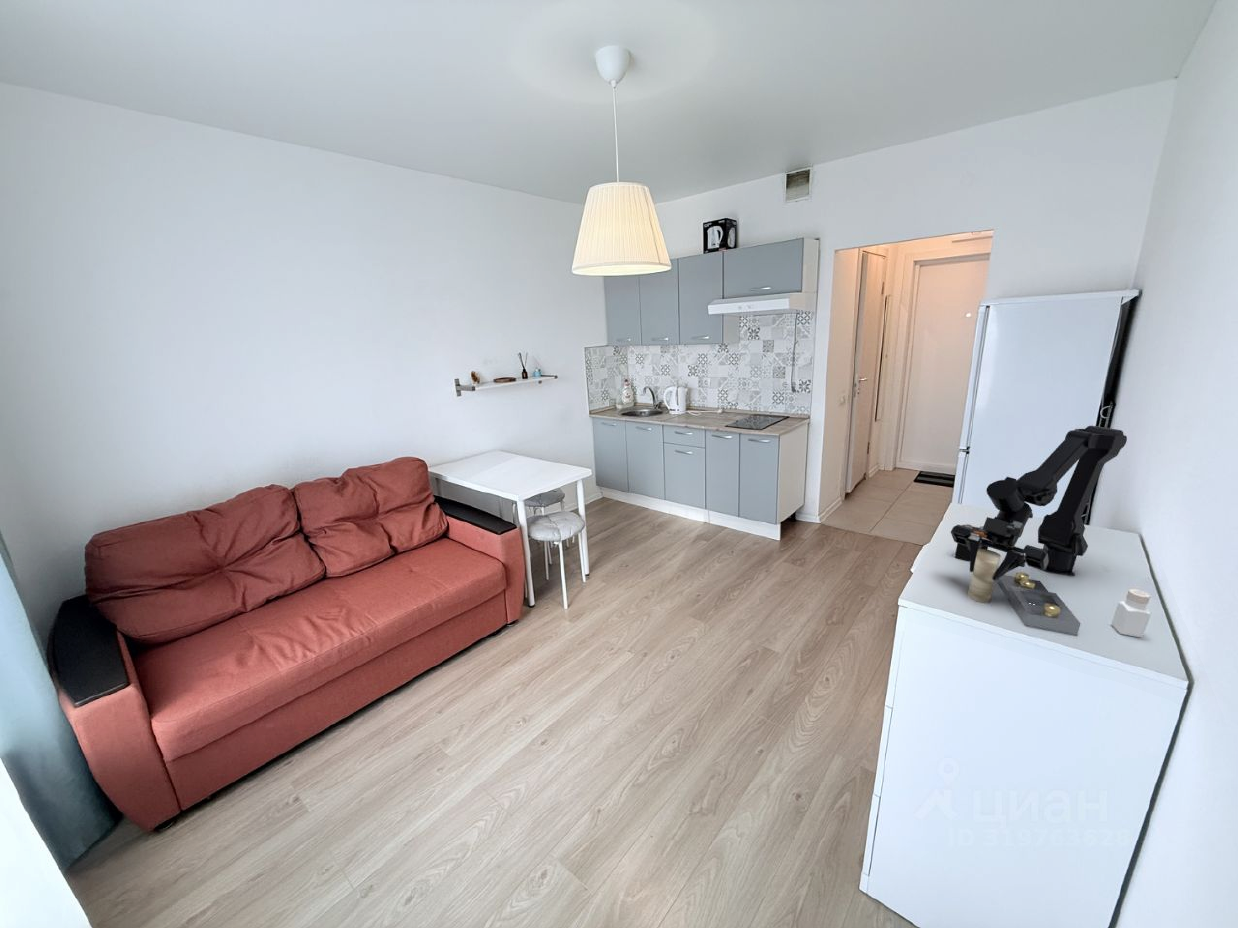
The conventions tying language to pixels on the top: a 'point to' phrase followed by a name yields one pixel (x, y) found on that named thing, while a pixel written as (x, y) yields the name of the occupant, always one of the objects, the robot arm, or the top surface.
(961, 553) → the battery
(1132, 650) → the top surface
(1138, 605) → the salt shaker
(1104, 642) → the top surface
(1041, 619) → the mounting plate
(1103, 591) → the top surface
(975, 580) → the pin
